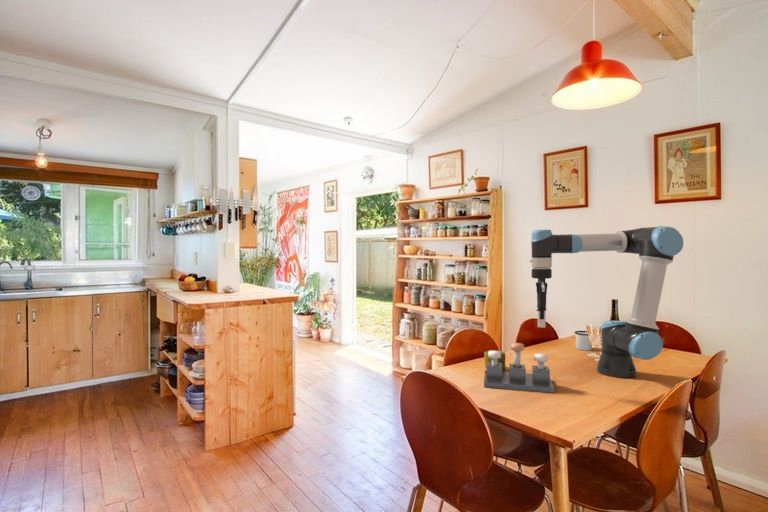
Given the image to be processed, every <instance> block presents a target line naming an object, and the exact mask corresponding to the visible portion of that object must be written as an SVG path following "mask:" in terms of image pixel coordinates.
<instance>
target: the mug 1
mask: <svg viewBox="0 0 768 512" xmlns="http://www.w3.org/2000/svg"><path fill="white" fill-rule="evenodd" d="M489 351H494V350H491V349H490V350H486V351H484V353H483V354H484V355H483V357H484V358H483V359H484V364H485V365H484V366H485V368H486V370H487V362H491V363H492V358H489V357H488V352H489ZM498 351H499V352H501V358H499V359H498V363H502V371H506V352H505V351H503V350H498Z"/></svg>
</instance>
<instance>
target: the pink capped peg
mask: <svg viewBox="0 0 768 512" xmlns="http://www.w3.org/2000/svg"><path fill="white" fill-rule="evenodd" d="M510 349H511V350H512V351H514V353H513V354H514V355H513V357H514V358H513V359H514V360H513V361H514V362H513V364H514V367H518V368H520V365H521V358H522V357H521V352H523V351H524V350H525V344H523V343H521V342H513V343H510Z"/></svg>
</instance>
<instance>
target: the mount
mask: <svg viewBox="0 0 768 512" xmlns="http://www.w3.org/2000/svg"><path fill="white" fill-rule="evenodd" d="M531 367H532V368H531V370H532V371H531V373H527V371H526V365H525V364H520V368H518V367H514V363H509V371H503V370H502V363H498V366H492V363H491V362H487V369H486V370H484V379H483V388H490V389H491V388H492V389H504V390H513V391H514V390H516V391H525V392H537V393H539V392H540V393H546V394H547V393H549V394H555V386H554V384H553V382H552V379H551V373H550V372H551V371H550V368H549V366H547V365H546V366H545V365H544V369H538V365H532V366H531Z"/></svg>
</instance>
